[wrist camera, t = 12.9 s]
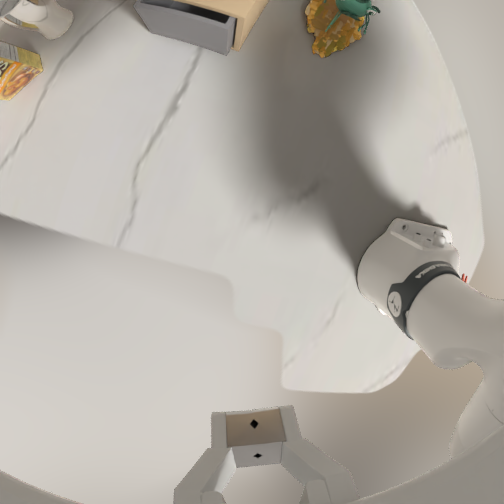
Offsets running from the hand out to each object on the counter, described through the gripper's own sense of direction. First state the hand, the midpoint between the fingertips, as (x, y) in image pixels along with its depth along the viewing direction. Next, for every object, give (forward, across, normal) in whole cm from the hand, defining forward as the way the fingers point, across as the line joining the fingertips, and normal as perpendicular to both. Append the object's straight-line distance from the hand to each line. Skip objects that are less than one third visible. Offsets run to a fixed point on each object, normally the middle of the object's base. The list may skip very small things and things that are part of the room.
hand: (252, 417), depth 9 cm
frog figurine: (+35, -18, -31) cm, 50 cm away
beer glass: (+34, +27, -36) cm, 57 cm away
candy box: (+34, +34, -28) cm, 56 cm away
